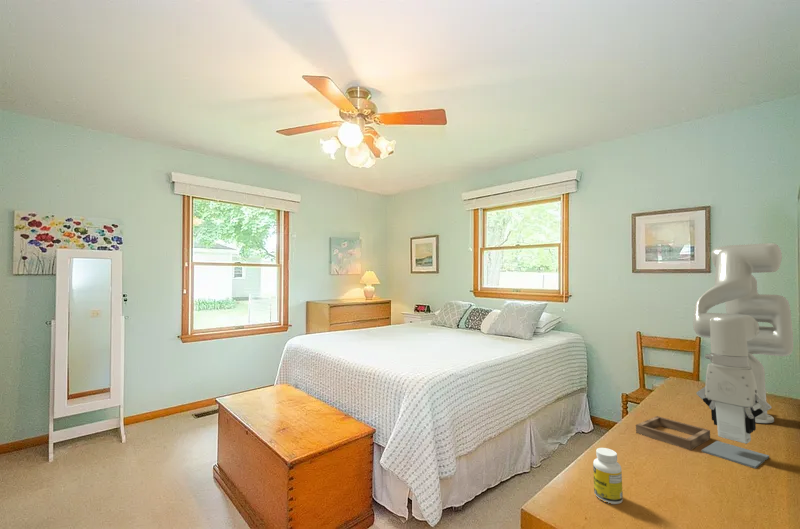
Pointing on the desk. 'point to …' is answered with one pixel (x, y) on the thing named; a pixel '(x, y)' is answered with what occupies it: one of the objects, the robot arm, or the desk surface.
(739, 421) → the skincare box
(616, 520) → the desk surface
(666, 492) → the desk surface
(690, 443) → the brown wooden frame
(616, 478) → the supplement bottle
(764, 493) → the desk surface
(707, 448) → the pad
